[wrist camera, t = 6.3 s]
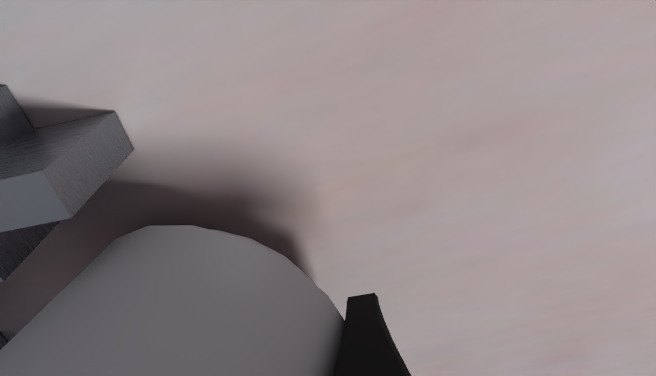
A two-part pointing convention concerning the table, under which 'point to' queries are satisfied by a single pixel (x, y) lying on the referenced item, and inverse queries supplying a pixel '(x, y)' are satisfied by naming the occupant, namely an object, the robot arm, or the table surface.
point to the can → (182, 313)
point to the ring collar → (49, 174)
